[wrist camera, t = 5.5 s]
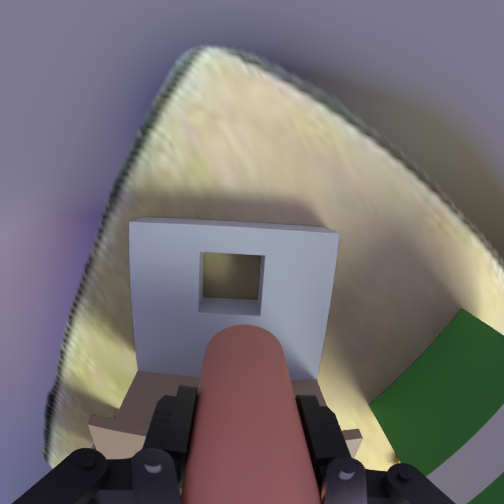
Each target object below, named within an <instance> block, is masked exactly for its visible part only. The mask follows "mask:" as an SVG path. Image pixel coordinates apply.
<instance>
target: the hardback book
mask: <svg viewBox="0 0 504 504" xmlns="http://www.w3.org/2000/svg"><path fill="white" fill-rule="evenodd" d="M369 406H370V408H371V410H372V412H373V413H374V415H375V417H376V419H377V421H378V422H379V424H380V426H381V428H382V430H383V431H384V433H385V435H386V437H387V439H388V441H389V442H390V444H391V446H392V448H393V450H394V452H395V453H396V455H397V457H398V459H399V461H400V463H407V464H410V465H412V466H414V467H416V468H417V469H418V470H419V471H420V472H421V473H422V474H423V475H424V476H425V477H427V478H428V479H429V480H430V481H431V482H432V483H433V484H434V485H435V486H436V487H438V488H439V489H440V490H441V491H442V492H443V493H444V494H445V495H447V496H448V497H449V498H450V499H451V500H452V501H453V502H454V503H456V504H504V335H502V334H501V333H499V332H498V331H496V330H495V329H493V328H492V327H490V326H489V325H487V324H486V323H484V322H482V321H481V320H479V319H478V318H476V317H475V316H473V315H472V314H470V313H468V312H467V311H465V310H464V309H461V310H460V311H459V313H458V314H457V315H456V316H455V318H454V319H453V320H452V321H451V322H450V323H449V325H448V326H447V327H446V328H445V329H444V331H443V332H442V333H441V334H440V335H439V336H438V337H437V338H436V340H435V341H434V342H433V343H432V344H431V345H430V346H429V347H428V348H427V349H426V350H425V352H424V353H423V354H422V355H421V356H420V357H419V358H418V359H417V360H416V361H415V362H414V363H413V364H412V365H411V366H410V367H409V368H408V369H407V370H406V371H405V372H404V373H403V374H402V375H401V376H400V377H399V378H398V379H397V380H396V381H395V382H394V383H392V384H391V385H390V386H389V387H388V388H387V389H386V390H385V391H384V392H383V393H382V394H380V395H379V396H378V397H377V398H376V399H375V400H374V401H373V402H371V403H370V404H369Z"/></svg>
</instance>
